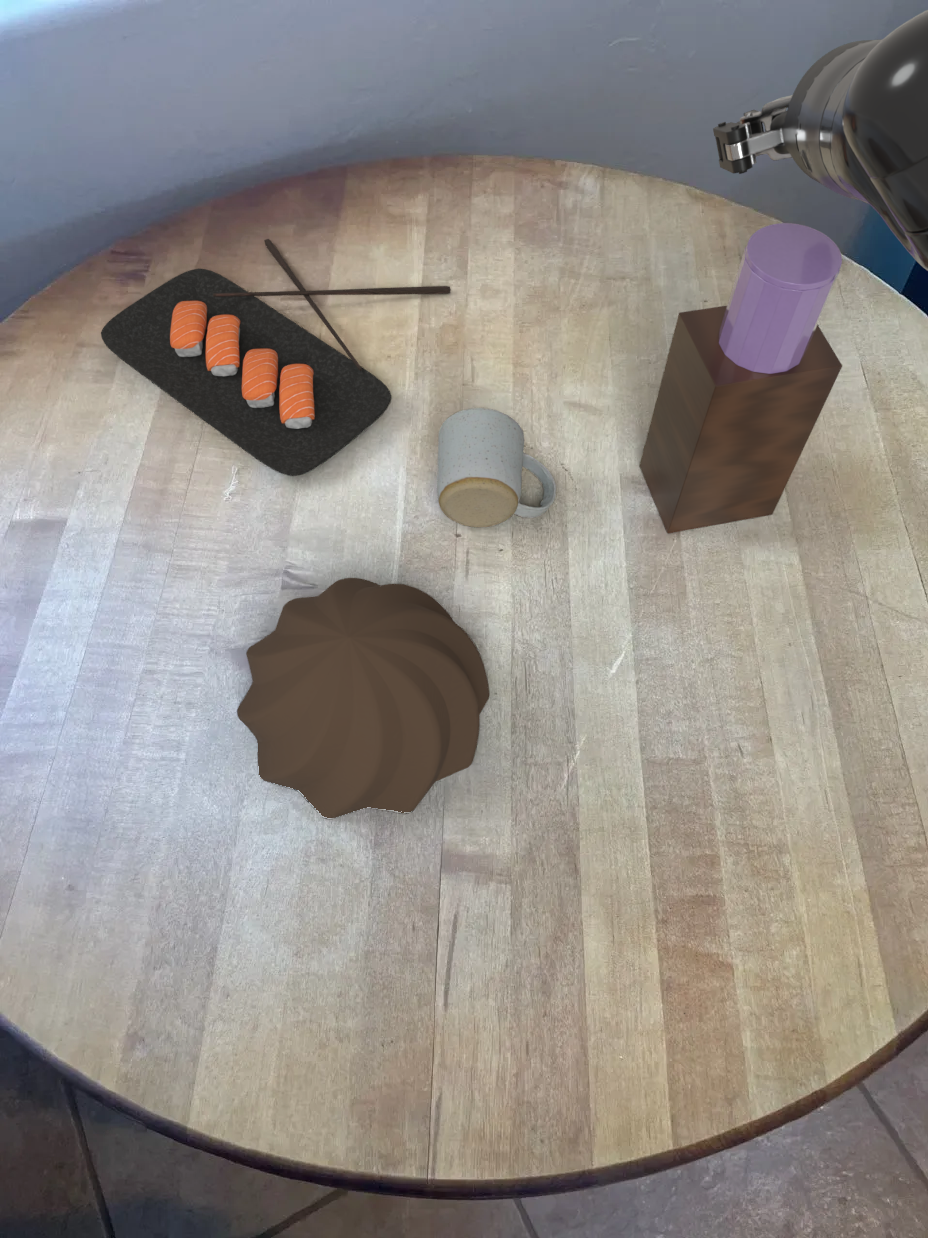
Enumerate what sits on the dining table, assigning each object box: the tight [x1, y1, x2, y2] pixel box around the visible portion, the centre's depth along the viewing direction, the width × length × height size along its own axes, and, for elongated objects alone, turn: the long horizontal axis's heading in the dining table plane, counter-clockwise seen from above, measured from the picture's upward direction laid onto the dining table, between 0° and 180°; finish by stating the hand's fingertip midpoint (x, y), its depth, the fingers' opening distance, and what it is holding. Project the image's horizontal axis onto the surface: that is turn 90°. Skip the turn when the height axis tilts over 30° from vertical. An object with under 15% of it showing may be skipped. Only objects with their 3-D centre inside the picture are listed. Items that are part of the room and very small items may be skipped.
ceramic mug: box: [436, 407, 557, 528], centre depth 84 cm, size 11×8×8 cm
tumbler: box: [719, 222, 843, 374], centre depth 69 cm, size 6×6×8 cm
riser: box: [638, 304, 843, 534], centre depth 80 cm, size 10×8×18 cm
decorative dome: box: [236, 577, 491, 819], centre depth 72 cm, size 19×20×10 cm
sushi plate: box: [100, 238, 451, 477], centre depth 96 cm, size 29×30×4 cm
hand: (814, 106), depth 66 cm, fingers open, 8 cm apart
